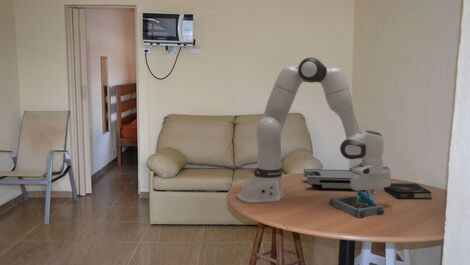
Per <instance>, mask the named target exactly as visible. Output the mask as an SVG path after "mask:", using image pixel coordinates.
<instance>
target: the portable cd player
mask: <svg viewBox="0 0 470 265" xmlns="http://www.w3.org/2000/svg"><path fill="white" fill-rule="evenodd" d="M383 191H384V192H386V193H388V194H389V195H390V196H392V197H393V198H395V199H396V200H432V198H433V197H432V191H430V190H429V189H427V188H425V187H423V186H421V185H419V184H418V183H415V182H414V183H412V182H411V183H403V182H402V183H401V182H400V183H399V182H398V183H396V182H395V183H394V182H393V183H392V182H391V185H390V186H389V187H384V188H383Z"/></svg>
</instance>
